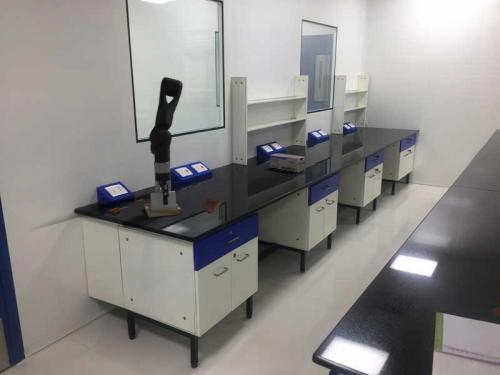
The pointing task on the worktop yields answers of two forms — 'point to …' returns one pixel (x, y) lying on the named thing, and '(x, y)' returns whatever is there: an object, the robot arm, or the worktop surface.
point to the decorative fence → (116, 210)
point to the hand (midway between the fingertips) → (164, 202)
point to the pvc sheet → (158, 201)
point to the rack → (161, 213)
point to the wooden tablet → (211, 205)
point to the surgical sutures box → (287, 162)
